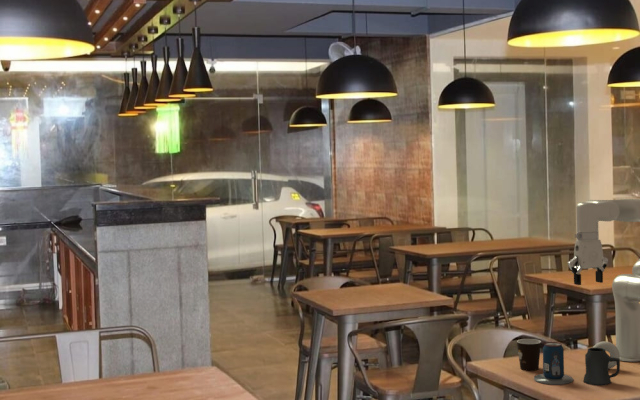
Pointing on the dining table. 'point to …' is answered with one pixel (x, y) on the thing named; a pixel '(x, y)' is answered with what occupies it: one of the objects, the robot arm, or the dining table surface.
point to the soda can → (553, 361)
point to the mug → (599, 367)
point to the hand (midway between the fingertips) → (588, 283)
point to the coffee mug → (529, 354)
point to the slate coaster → (543, 380)
